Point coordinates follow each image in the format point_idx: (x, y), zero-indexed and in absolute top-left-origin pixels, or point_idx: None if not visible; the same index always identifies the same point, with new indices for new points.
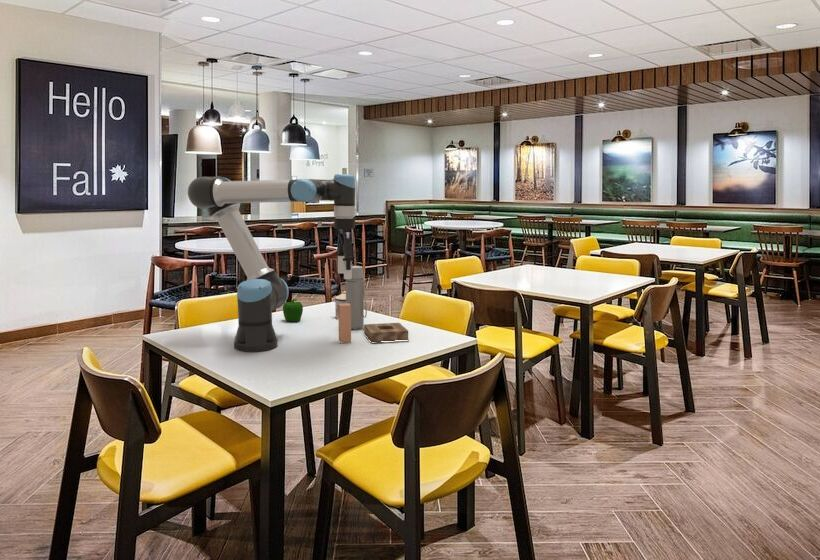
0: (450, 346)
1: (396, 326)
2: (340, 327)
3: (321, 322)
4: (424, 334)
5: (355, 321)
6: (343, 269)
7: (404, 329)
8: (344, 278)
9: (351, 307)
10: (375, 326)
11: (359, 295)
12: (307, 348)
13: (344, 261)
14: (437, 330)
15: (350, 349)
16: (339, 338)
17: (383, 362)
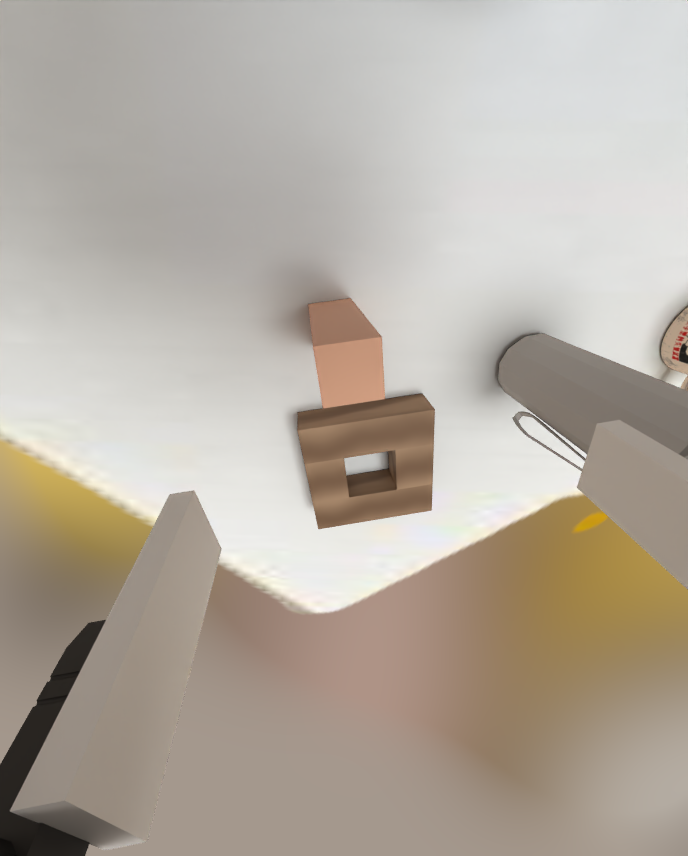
0: (262, 581)
1: (381, 502)
2: (310, 318)
3: (679, 223)
4: (387, 540)
5: (512, 377)
6: (615, 501)
7: (337, 520)
8: (169, 501)
9: (559, 384)
10: (393, 445)
11: (588, 447)
12: (219, 137)
13: (23, 790)
14: (422, 565)
15: (216, 341)
16: (330, 303)
17: (65, 439)
